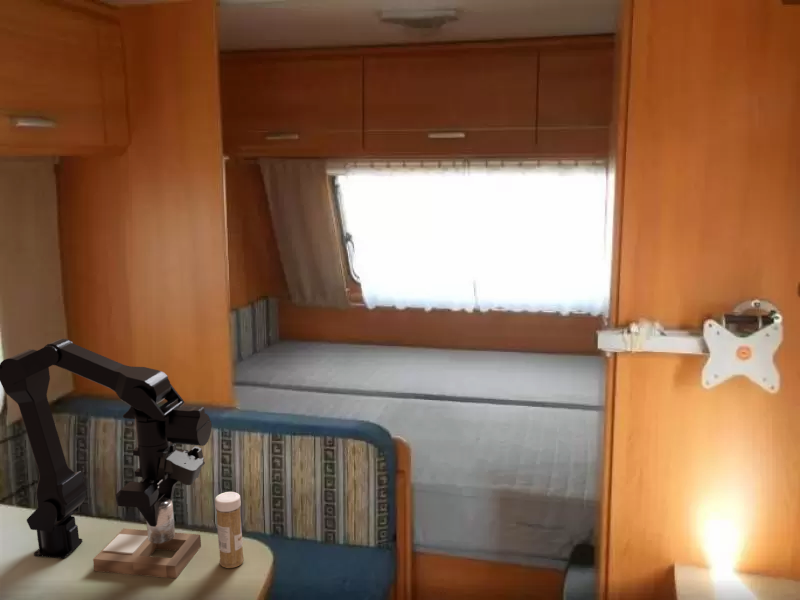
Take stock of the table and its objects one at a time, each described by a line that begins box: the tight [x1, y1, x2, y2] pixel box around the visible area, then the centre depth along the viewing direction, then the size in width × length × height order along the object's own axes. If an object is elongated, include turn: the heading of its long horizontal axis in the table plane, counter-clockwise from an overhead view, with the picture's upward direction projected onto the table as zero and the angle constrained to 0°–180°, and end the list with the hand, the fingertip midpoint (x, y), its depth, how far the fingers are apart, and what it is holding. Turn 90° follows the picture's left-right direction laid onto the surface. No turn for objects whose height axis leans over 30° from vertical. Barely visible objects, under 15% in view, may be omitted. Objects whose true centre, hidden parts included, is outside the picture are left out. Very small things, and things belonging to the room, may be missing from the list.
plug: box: [146, 497, 176, 543], centre depth 142 cm, size 5×5×7 cm
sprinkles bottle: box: [214, 491, 245, 569], centre depth 142 cm, size 5×5×13 cm
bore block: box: [92, 528, 202, 579], centre depth 144 cm, size 16×11×3 cm
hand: (160, 519), depth 142 cm, fingers closed on plug, 5 cm apart
